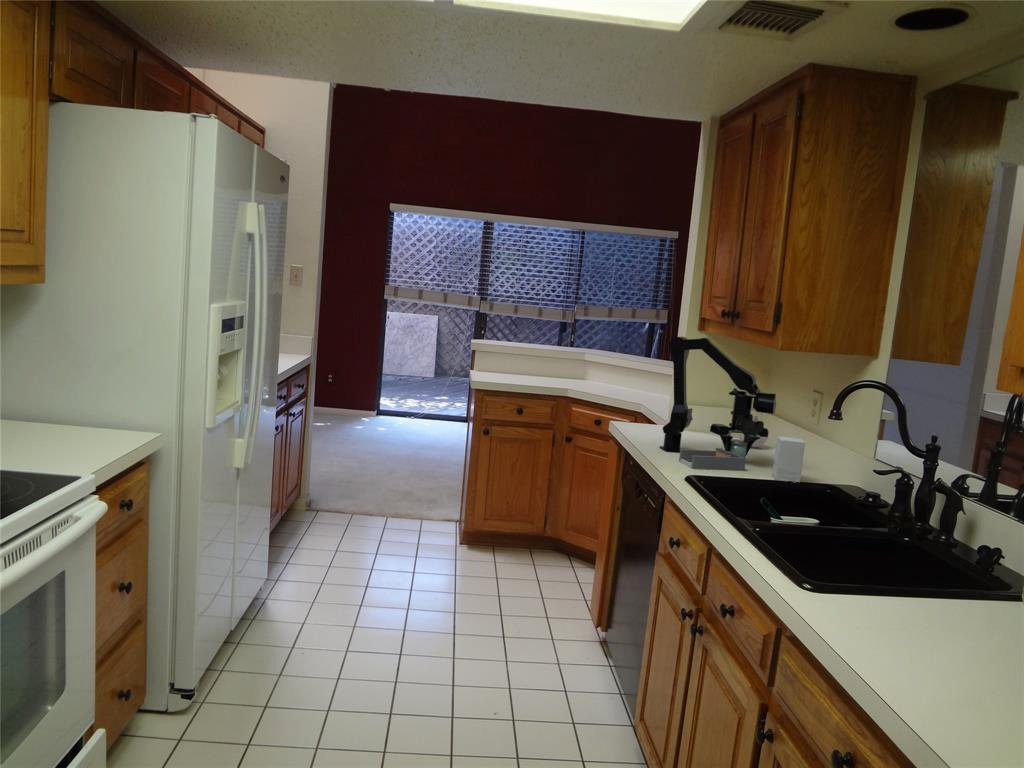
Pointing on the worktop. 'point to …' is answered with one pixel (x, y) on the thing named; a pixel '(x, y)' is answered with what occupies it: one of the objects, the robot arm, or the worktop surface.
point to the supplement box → (788, 459)
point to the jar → (738, 447)
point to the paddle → (722, 453)
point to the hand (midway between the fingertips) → (736, 455)
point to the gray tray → (711, 460)
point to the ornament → (762, 439)
